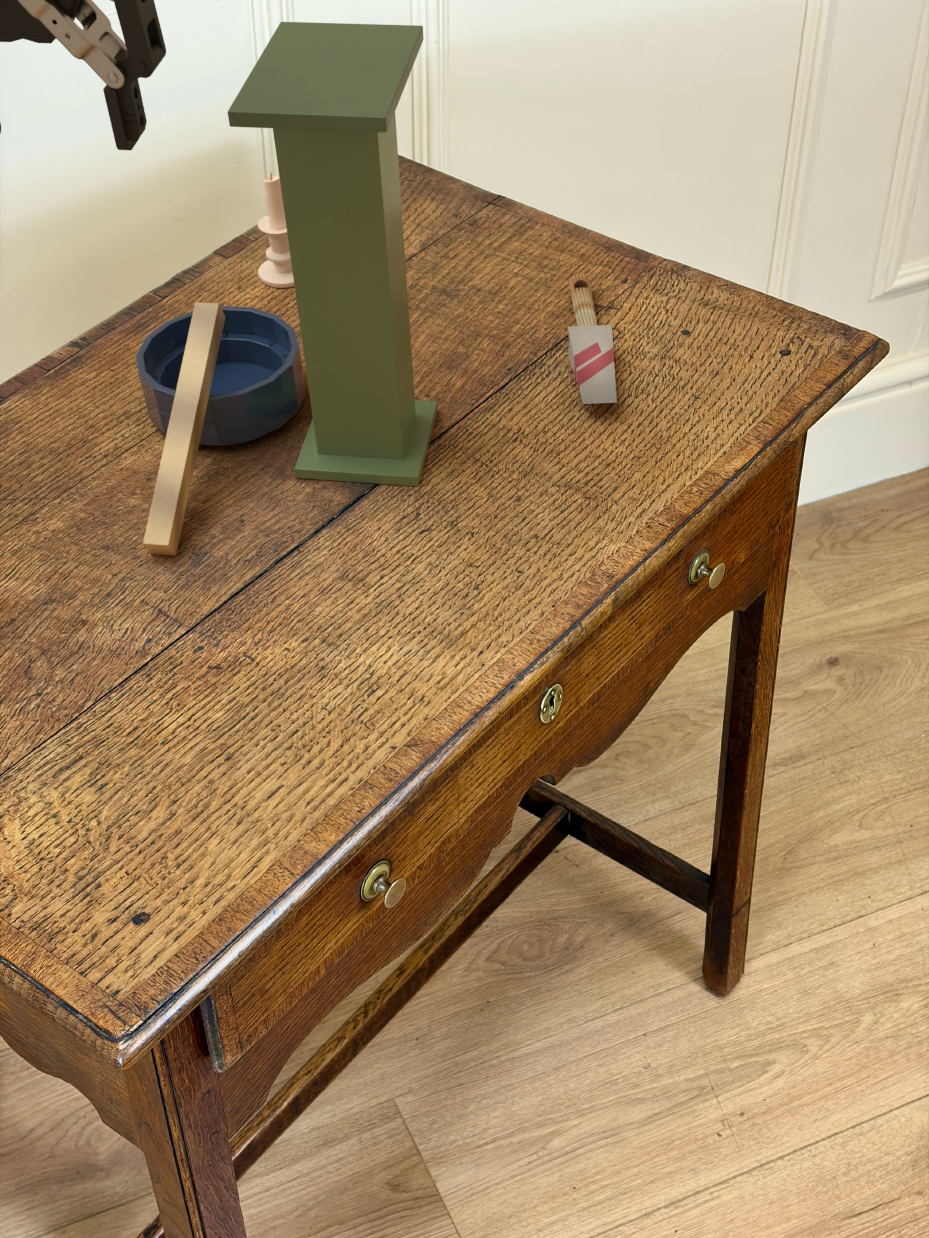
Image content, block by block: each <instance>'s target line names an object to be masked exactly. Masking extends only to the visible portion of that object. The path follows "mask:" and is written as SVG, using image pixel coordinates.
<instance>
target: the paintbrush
mask: <svg viewBox="0 0 929 1238" xmlns="http://www.w3.org/2000/svg"><path fill="white" fill-rule="evenodd" d="M569 279H570V280H569V281H568V282H569V290H570V295H571V301H572V308H573V312H574V317H575V322H576V326H575V325H574V326H567V332H568V350H567V355H568V358H569V363H570V365H571V369H572V371H573V375H574V379H575V382H576V385H577V388H578V392H579V395H580V399H581V402H582V404H583V405H589V404H591V405H593V404H615V403H618V401H617V400H618V399H617V385H616V368H615V355H614V353H615V352H614V339H613V328H612V327H613V325H612V324H601V325H598V319H597V315H596V309H595V305H594V297H593V294H592V287H591V283H590V278H589V277H588V276H587V275H586V274H585V273H581V272H579V273H575V274H573V275H572V277H570V278H569Z"/></svg>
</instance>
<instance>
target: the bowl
mask: <svg viewBox="0 0 929 1238" xmlns="http://www.w3.org/2000/svg"><path fill="white" fill-rule="evenodd" d="M220 306H221V309H222V311H223V313H224V315H225V322H224V327H223V331H222V336H221V341H220V346H219V351H218V356H217V360H216V365H215V370H214V375H213V380H212V385H211V389H210V394H209V399H208V404H207V409H206V413H205V418H204V423H203V428H202V433H201V438H200V442H199V446H200V445H201V446H208V447H209V446H210V447H222V446H223V447H224V446H234V445H241V444H244V443H247V442H248V443H249V442H252V441H255V440H257V439H260V438H262V437H264V436H266V435H268V434H269V433H273V432H274V431H277V430H279V429H280V428H282V427H283V426H284V425H285V424H286V423H288V421H290V420H291V419H292V418H293V417H294V416H295V415H296V414H297V413H298V412H299V411H300V408H301V406H302V403H303V400H304V397H305V395H306V393H307V391H306V385H305V384H306V383H305V379H304V378H305V376H304V371H303V363H302V355H301V348H300V344H299V340H298V337H297V334H296V330H295V329H294V327H293V326H291V325H290V324H289V323H287V322H286V321H285V320H284V319H283V318H282V317H280V316H279V315H278V314H276V313H275V314H274V313H271V312H268V311H266V310H265V311H264V310H262V309H259V308H256V307H247V306H231V305H220ZM192 314H193V310H192V311H190V312H187V313H184V314H182V315H179V316H176V317H175V318H171V319H169V320H167V321H165V322H163V323H162V324H161V325H160V326H158V327H157V328H156V329H154V330H153V331H152V332H150V333H149V334H148V335H146V336H145V338H144V340H143V342H142V344H141V345H140V347H139V349H138V350H137V353H136V355H135V359H136V364H137V365H136V366H137V373H138V377H139V380H140V381H139V382H140V385H141V388H142V393H143V397H144V400H145V405H146V409H147V413H148V417H149V420H150V421H151V422H152V423H153V424H154V425H155V426H156V427H157V428H158V429H159V430H160V431H161V432H162V433H163V434H164V435H165V436H166V434H167V429H168V425H169V420H170V416H171V411H172V406H173V402H174V397H175V393H176V388H177V383H178V379H179V374H180V370H181V365H182V360H183V356H184V351H185V347H186V342H187V337H188V333H189V328H190V323H191V319H192Z"/></svg>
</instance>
